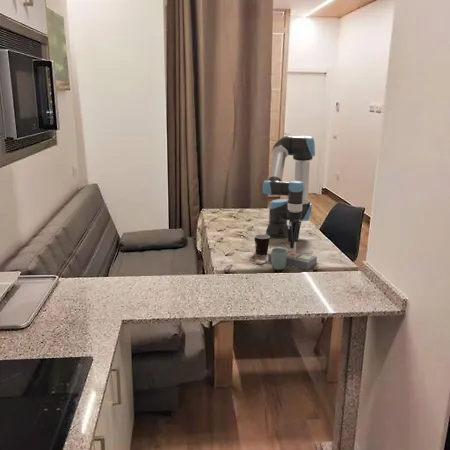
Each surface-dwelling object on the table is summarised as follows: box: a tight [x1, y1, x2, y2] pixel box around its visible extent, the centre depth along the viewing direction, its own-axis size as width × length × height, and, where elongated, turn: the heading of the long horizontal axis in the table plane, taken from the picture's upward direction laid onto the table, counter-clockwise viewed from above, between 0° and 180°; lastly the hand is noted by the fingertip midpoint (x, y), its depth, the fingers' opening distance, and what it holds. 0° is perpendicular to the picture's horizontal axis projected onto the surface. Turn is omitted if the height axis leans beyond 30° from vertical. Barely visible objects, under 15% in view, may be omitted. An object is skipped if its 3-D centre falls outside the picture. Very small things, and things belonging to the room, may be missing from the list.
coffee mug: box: [254, 234, 271, 256], centre depth 256 cm, size 12×9×10 cm
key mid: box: [287, 253, 300, 258], centre depth 242 cm, size 6×6×4 cm
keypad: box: [267, 249, 318, 271], centre depth 242 cm, size 12×23×4 cm, turn 55°
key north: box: [298, 255, 313, 261], centre depth 237 cm, size 6×6×4 cm
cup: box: [270, 247, 288, 271], centre depth 231 cm, size 8×8×10 cm
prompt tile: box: [253, 258, 268, 266], centre depth 241 cm, size 6×5×1 cm
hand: (292, 253), depth 241 cm, fingers closed
